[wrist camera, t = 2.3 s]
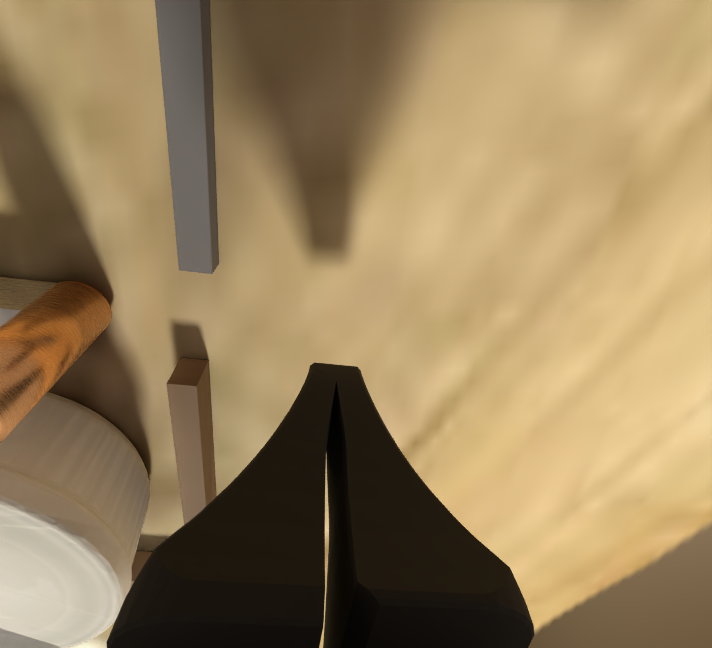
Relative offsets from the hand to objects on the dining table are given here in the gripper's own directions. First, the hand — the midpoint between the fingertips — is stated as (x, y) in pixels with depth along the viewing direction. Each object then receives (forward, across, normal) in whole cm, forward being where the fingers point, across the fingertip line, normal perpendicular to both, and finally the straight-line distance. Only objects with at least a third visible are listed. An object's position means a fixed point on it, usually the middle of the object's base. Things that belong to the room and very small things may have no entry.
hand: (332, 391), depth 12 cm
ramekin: (+4, +12, +8) cm, 15 cm away
